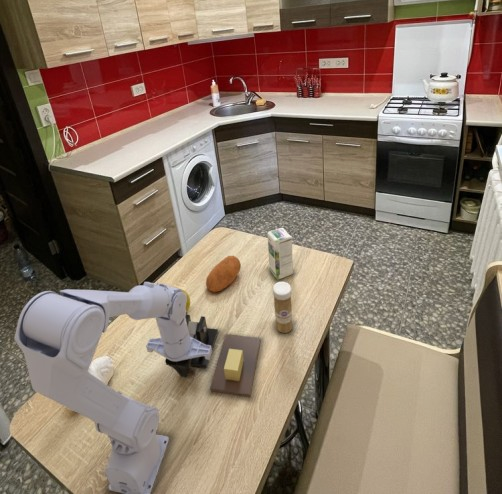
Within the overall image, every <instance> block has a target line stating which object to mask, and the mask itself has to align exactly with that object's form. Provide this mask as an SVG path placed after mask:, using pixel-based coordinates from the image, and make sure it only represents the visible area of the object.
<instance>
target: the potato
mask: <svg viewBox="0 0 502 494" xmlns="http://www.w3.org/2000/svg"><path fill="white" fill-rule="evenodd" d="M241 266H242V264H241V260H240V259H239V258H238V257H236V256H235V255H228V256H226V257H225V258H223V259H222V260H221V261H219V262H218V263H217V264H216V265H215V266H214V267H213V268H212V269H211V271H210V272H209V273H208V275H207V277H206V279H205V286H206V287H207V289H208V290H209V291H210V292H213V293H216V292H221V291H223V290H224V289H226V288H227V287H228V286H230V285H231V284H232V283H233V282H234V281H235V280H236V278H237V276H238V274H239V273H240V271H241Z"/></svg>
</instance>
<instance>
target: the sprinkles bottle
mask: <svg viewBox="0 0 502 494" xmlns="http://www.w3.org/2000/svg"><path fill="white" fill-rule="evenodd" d="M272 294H273V300H274V301H273V304H274V305H273V306H274V318H275V329H276V330H277V331H278V332H279V333H282V334H286V333H289V332H290V331H292V330H293V308H292V307H293V305H292V286H291V284H290V283H288V282H286V281H277V282H276V283H274V285H273V287H272Z"/></svg>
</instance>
